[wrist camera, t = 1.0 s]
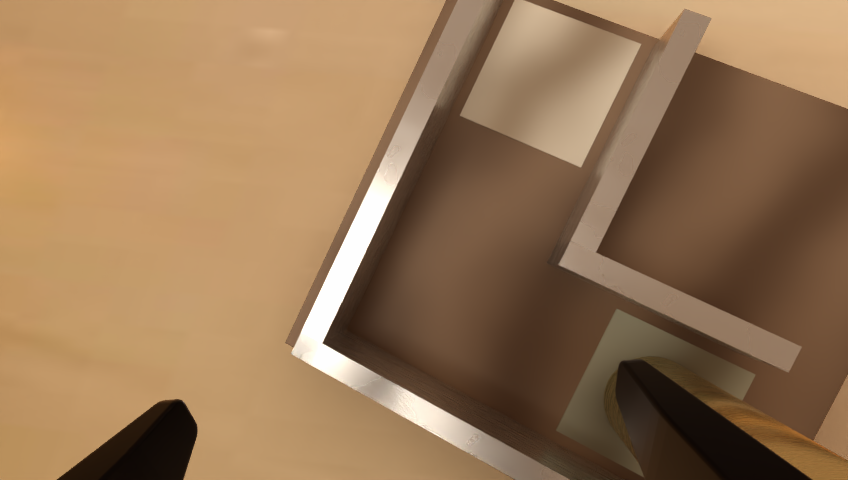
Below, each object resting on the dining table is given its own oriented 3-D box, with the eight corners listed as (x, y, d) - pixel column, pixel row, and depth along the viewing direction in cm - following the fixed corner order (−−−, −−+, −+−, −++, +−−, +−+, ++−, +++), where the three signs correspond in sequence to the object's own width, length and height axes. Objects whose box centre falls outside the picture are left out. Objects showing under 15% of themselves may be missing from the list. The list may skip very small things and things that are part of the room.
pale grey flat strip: (931, 158, 17) (965, 151, 16) (717, 570, 18) (734, 593, 17) (463, -17, 21) (462, -35, 19) (296, 337, 21) (284, 343, 20)
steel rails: (852, 124, 17) (931, 96, 14) (650, 519, 17) (684, 574, 14) (486, -13, 19) (486, -62, 16) (319, 338, 20) (290, 353, 17)
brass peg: (720, 384, 17) (1043, 562, 7) (677, 468, 17) (935, 756, 7) (628, 339, 18) (810, 448, 8) (587, 421, 18) (716, 630, 8)
